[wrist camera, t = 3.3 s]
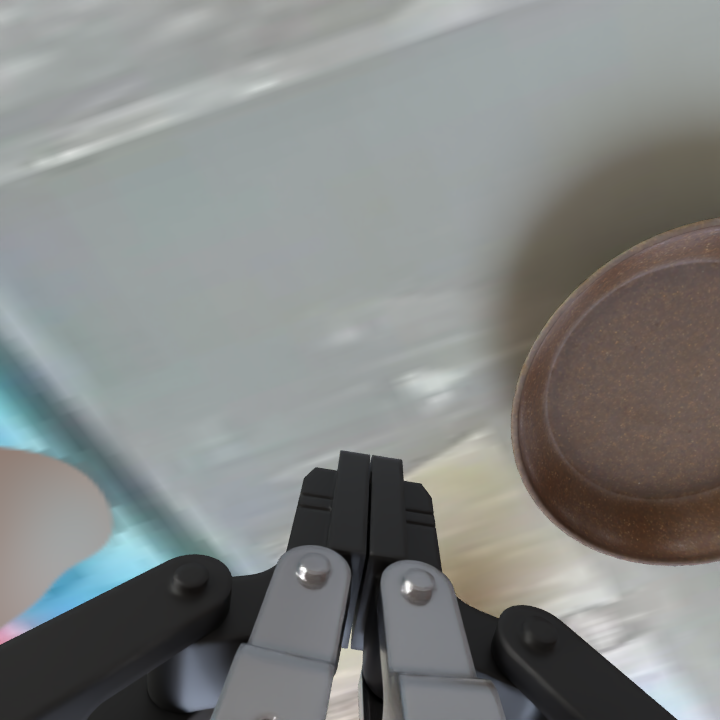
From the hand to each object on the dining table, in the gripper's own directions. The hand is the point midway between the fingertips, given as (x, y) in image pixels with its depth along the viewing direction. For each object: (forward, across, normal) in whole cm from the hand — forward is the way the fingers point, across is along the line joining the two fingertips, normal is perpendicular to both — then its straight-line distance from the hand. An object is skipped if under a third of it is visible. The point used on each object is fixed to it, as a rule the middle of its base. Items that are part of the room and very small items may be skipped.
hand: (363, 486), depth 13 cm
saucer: (+11, -13, 0) cm, 17 cm away
